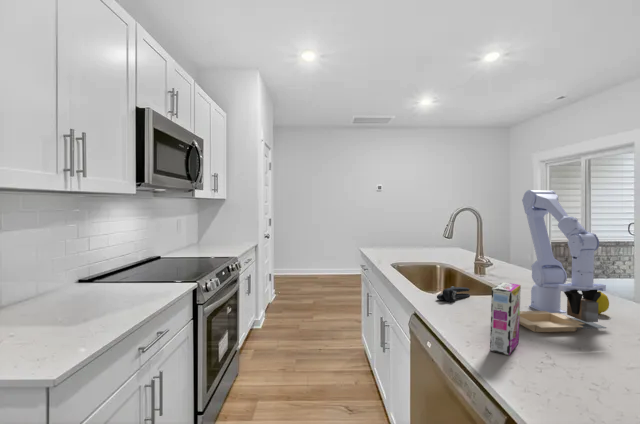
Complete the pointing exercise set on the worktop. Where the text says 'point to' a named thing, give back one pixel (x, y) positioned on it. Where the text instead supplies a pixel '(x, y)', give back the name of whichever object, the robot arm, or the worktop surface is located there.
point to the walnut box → (585, 311)
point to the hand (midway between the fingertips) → (581, 313)
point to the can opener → (453, 294)
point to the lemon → (602, 303)
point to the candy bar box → (505, 318)
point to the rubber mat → (588, 324)
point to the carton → (547, 321)
